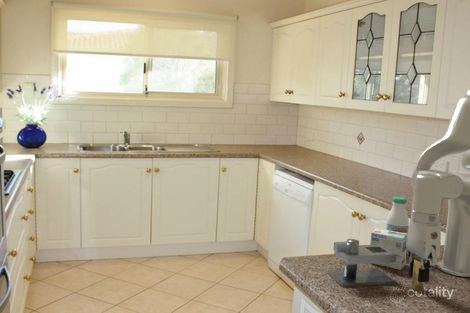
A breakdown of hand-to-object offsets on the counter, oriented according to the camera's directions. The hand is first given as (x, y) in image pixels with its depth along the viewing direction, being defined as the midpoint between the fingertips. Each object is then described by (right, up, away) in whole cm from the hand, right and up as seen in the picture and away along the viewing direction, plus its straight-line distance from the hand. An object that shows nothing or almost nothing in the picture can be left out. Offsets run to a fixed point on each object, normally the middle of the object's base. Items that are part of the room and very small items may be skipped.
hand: (418, 278), depth 140 cm
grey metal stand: (-16, -2, +6) cm, 17 cm away
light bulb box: (-3, -1, +20) cm, 20 cm away
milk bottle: (+4, +1, +32) cm, 32 cm away
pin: (0, -3, 0) cm, 3 cm away
